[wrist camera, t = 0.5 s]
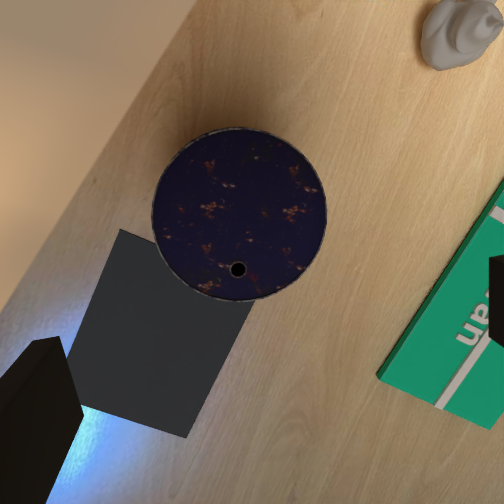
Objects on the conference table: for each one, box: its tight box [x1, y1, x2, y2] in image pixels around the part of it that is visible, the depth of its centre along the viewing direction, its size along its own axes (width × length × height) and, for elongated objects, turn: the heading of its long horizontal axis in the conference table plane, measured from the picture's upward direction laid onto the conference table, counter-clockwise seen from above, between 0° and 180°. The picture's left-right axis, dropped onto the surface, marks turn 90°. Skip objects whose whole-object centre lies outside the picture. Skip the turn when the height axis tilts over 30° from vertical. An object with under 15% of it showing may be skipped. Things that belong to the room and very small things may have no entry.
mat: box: [67, 229, 255, 438], centre depth 40 cm, size 18×14×1 cm
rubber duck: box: [420, 0, 504, 71], centre depth 32 cm, size 5×7×8 cm
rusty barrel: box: [151, 127, 327, 302], centre depth 30 cm, size 10×10×15 cm
